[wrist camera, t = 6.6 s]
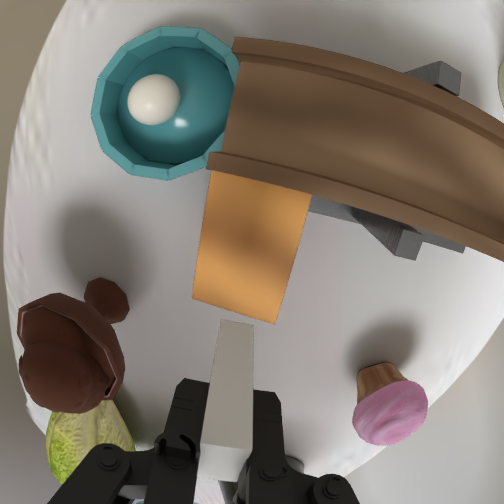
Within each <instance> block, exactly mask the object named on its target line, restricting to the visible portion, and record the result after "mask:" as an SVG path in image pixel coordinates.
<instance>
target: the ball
mask: <svg viewBox="0 0 504 504" xmlns="http://www.w3.org/2000/svg"><path fill="white" fill-rule="evenodd" d="M180 99H181V96H180V90H179V88H178V86H177V84H176V83H175V82H174V81H173V80H172V79H171V78H169V77H167V76H164V75H160V74H153V75H148V76H145V77H143V78H141V79H140V80H139V81H137V82H136V83H135V84H134V85H133V87H132V88H131V90H130V92H129V95H128V101H127V103H128V109H129V112H130V113H131V115H132V116H133V118H134V119H136V120H137V121H138V122H140V123H142V124H146V125H158V124H161V123H164V122H166V121H167V120H169V119H170V118H171V117H172V116H173V115H174V114H175V113H176V111H177V109H178V107H179V105H180Z"/></svg>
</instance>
